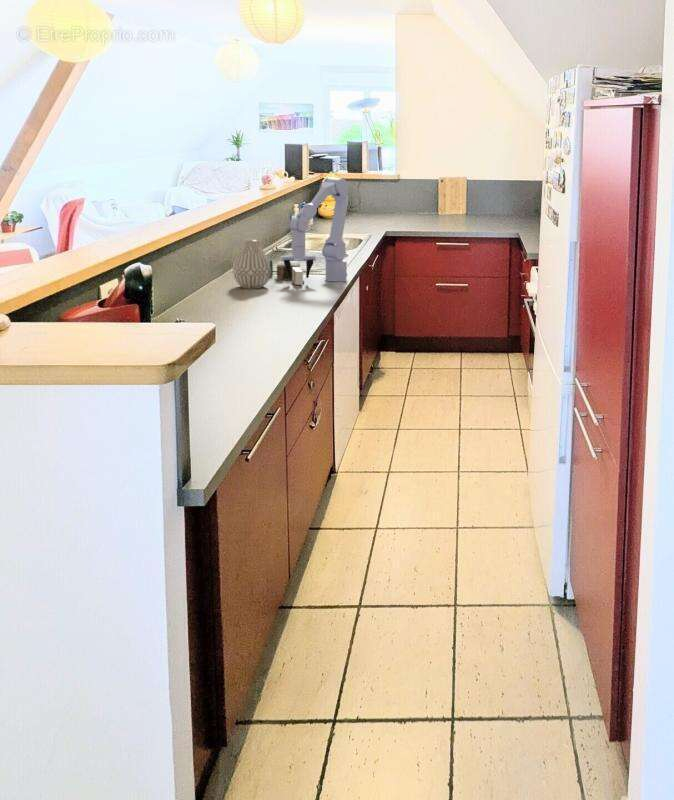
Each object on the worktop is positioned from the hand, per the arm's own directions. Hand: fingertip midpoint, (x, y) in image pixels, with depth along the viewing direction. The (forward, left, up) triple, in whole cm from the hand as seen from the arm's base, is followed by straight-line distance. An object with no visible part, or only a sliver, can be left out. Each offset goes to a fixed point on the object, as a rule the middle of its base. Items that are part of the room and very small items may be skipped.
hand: (298, 277), depth 423 cm
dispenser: (+5, -15, -3) cm, 16 cm away
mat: (0, -4, -3) cm, 5 cm away
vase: (+20, +7, -3) cm, 21 cm away
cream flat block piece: (+1, -3, -2) cm, 4 cm away
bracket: (+17, -14, -3) cm, 22 cm away
